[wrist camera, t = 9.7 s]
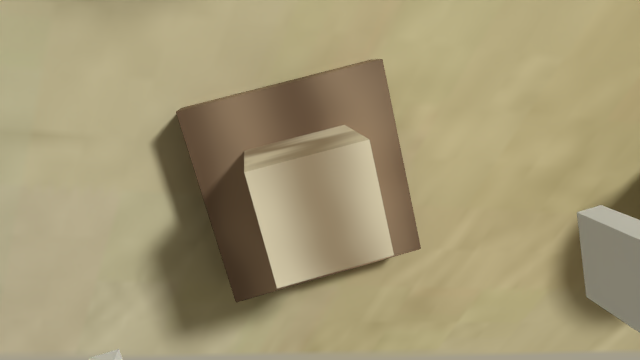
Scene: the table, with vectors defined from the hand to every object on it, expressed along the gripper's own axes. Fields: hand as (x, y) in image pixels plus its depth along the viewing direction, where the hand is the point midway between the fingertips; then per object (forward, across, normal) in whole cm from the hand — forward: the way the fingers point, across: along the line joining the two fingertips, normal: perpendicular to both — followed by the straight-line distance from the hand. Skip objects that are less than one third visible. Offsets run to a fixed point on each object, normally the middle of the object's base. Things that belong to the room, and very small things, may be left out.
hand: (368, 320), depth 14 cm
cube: (+16, 0, 0) cm, 16 cm away
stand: (+19, 0, 0) cm, 19 cm away
